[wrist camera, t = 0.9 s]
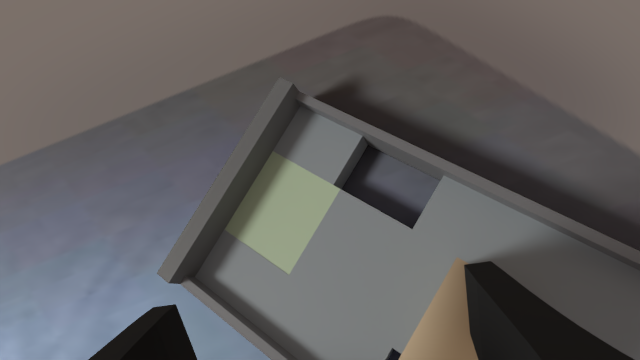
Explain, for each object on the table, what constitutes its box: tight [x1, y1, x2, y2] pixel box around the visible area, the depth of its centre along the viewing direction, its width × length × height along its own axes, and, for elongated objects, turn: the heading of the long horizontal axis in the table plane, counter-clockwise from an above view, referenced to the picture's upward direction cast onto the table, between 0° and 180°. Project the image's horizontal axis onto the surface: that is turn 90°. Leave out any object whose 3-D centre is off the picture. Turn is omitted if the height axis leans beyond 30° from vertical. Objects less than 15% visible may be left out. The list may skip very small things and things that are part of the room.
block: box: [398, 257, 478, 360], centre depth 17 cm, size 4×4×5 cm
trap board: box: [157, 77, 640, 360], centre depth 21 cm, size 22×13×4 cm, turn 57°
